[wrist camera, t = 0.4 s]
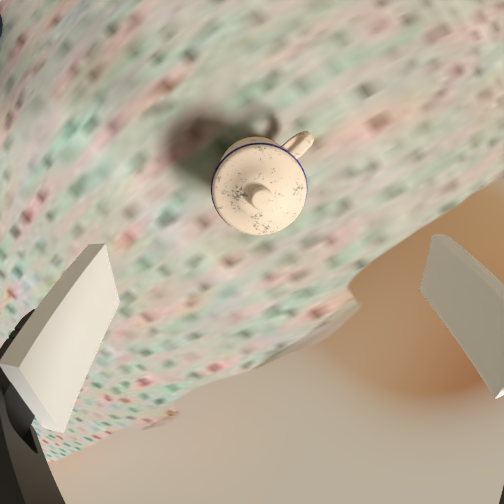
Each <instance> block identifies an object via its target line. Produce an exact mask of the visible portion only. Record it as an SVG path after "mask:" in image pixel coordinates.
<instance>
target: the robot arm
mask: <svg viewBox="0 0 504 504" xmlns="http://www.w3.org/2000/svg"><path fill="white" fill-rule="evenodd" d="M419 291H420V292H421V294H422V295H423V296H424V297H425V299H426V300H427V301H428V303H429V304H430V305H431V306H432V308H433V309H434V310H435V312H436V313H437V314H438V316H439V317H440V318H441V320H442V321H443V322H444V324H445V325H446V327H447V328H448V329H449V331H450V332H451V333H452V335H453V336H454V338H455V339H456V340H457V342H458V343H459V345H460V346H461V348H462V349H463V350H464V352H465V353H466V355H467V356H468V358H469V359H470V361H471V362H472V364H473V365H474V367H475V368H476V369H477V371H478V373H479V374H480V376H481V377H482V379H483V380H484V382H485V384H486V385H487V387H488V388H489V390H490V391H491V393H492V395H493V396H494V398H495V399H496V398H498V397H501V396H503V395H504V284H503V283H502V282H501V281H500V280H498V279H497V278H496V277H495V276H494V275H493V274H492V273H491V272H490V271H489V270H488V269H486V268H485V267H484V266H483V265H482V264H481V263H480V262H479V261H477V260H476V259H475V258H474V257H473V256H472V255H471V254H469V253H468V252H467V251H466V250H465V249H464V248H462V247H461V246H460V245H459V244H457V243H456V242H455V241H454V240H453V239H452V238H450V237H449V236H448V235H446V234H433V235H432V240H431V244H430V249H429V253H428V258H427V262H426V266H425V270H424V274H423V277H422V281H421V285H420V289H419ZM119 304H120V301H119V297H118V293H117V290H116V286H115V282H114V278H113V274H112V270H111V266H110V262H109V257H108V253H107V248H106V244H89V245H88V246H87V247H86V248H85V249H84V250H83V252H82V253H81V254H80V255H79V256H78V257H77V259H76V260H75V261H74V262H73V263H72V264H71V266H70V267H69V268H68V269H67V270H66V272H65V273H64V274H63V275H62V276H61V278H60V279H59V280H58V281H57V283H56V284H55V285H54V286H53V288H52V289H51V290H50V291H49V293H48V294H47V295H46V296H45V298H44V299H43V300H42V302H41V303H40V304H39V306H38V307H37V308H36V309H33V310H32V311H31V312H29V313H28V314H27V315H25V316H24V317H23V318H22V319H21V320H20V322H19V323H18V324H17V326H16V327H15V330H13V331H12V333H11V334H10V335H9V339H7V340H6V341H5V342H4V344H3V345H2V347H1V348H0V504H65V502H64V500H63V497H62V496H61V493H60V491H59V489H58V487H57V485H56V482H55V480H54V478H53V476H52V474H51V471H50V468H49V466H48V464H47V461H46V459H45V456H44V453H43V451H42V448H41V445H40V442H39V440H38V437H37V434H36V431H35V430H34V428H33V426H32V425H31V424H32V421H33V419H34V417H35V418H36V419H37V420H38V422H39V423H40V424H41V425H42V427H43V428H45V429H49V430H53V431H57V432H61V433H64V431H65V428H66V426H67V423H68V420H69V418H70V415H71V413H72V410H73V407H74V405H75V402H76V400H77V397H78V395H79V392H80V390H81V387H82V385H83V383H84V380H85V378H86V376H87V373H88V371H89V369H90V366H91V364H92V362H93V359H94V357H95V355H96V353H97V350H98V348H99V346H100V344H101V342H102V339H103V337H104V335H105V333H106V331H107V329H108V327H109V324H110V322H111V320H112V318H113V316H114V314H115V312H116V310H117V308H118V306H119ZM499 504H504V487H503V491H502V495H501V499H500V502H499Z"/></svg>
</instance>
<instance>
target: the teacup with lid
mask: <svg viewBox="0 0 504 504" xmlns="http://www.w3.org/2000/svg"><path fill="white" fill-rule="evenodd" d="M313 141H314V138H313V136H312V135H311V134H310V133H309V132H308V131H303V132H300V133H298V134H296V135H295V136H293V137H292V138H290V139H289V140H288V141H287V142H286V143H284V144H283V145H282V146H280V145H279V144H277V143H276V142H274V141H272V140H270V139H267V138H264V137H248V138H244V139H241V140H239V141H237V142H235V143H234V144H232V145H231V146H230V147H229V148H228V149H227V150H226V152H225V153H224V155H223V157H222V159H221V161H220V163H219V165H218V166H217V168H216V170H215V172H214V175H213V178H212V183H211V195H212V200H213V204H214V206H215V209H216V210H217V212H218V214H219V215H220V217H221V218H222V219H223V220H224V221H225V222H226V223H227V224H228V225H230V226H231V227H233V228H234V229H236V230H238V231H240V232H243V233H246V234H251V235H267V234H272V233H275V232H277V231H280V230H282V229H284V228H285V227H287V226H288V225H289V224H291V223H292V222H293V221H294V220H295V219H296V217H297V216H298V215H299V213H300V212H301V210H302V208H303V206H304V204H305V201H306V196H307V180H306V176H305V173H304V170H303V168H302V166H301V165H300V163H299V162H298V160H297V159H298V158H299V157H301V156H302V155H303V154H304V153H305V152H306V151H307V150H308V149H309V148H310V146H311V145H312V143H313Z"/></svg>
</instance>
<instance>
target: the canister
mask: <svg viewBox="0 0 504 504" xmlns="http://www.w3.org/2000/svg"><path fill="white" fill-rule="evenodd" d="M1 33H2V18H1V15H0V37H1Z"/></svg>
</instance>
